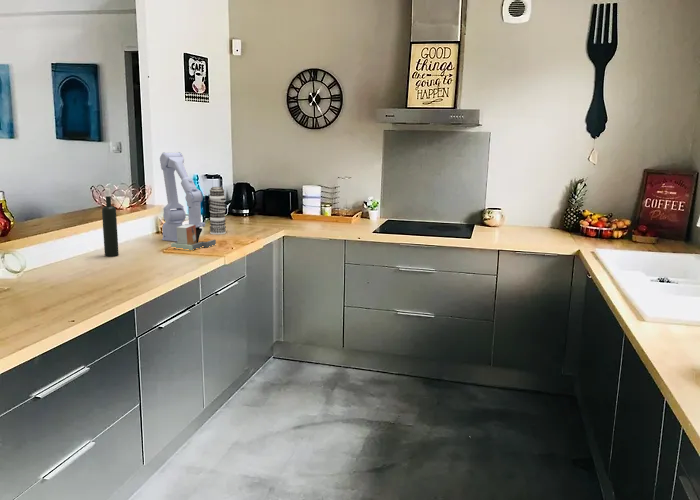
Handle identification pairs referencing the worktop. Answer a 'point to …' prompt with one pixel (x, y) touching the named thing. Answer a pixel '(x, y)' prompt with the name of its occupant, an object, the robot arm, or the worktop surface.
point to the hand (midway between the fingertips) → (195, 243)
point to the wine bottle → (110, 227)
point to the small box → (186, 234)
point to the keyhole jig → (194, 245)
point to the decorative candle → (217, 210)
